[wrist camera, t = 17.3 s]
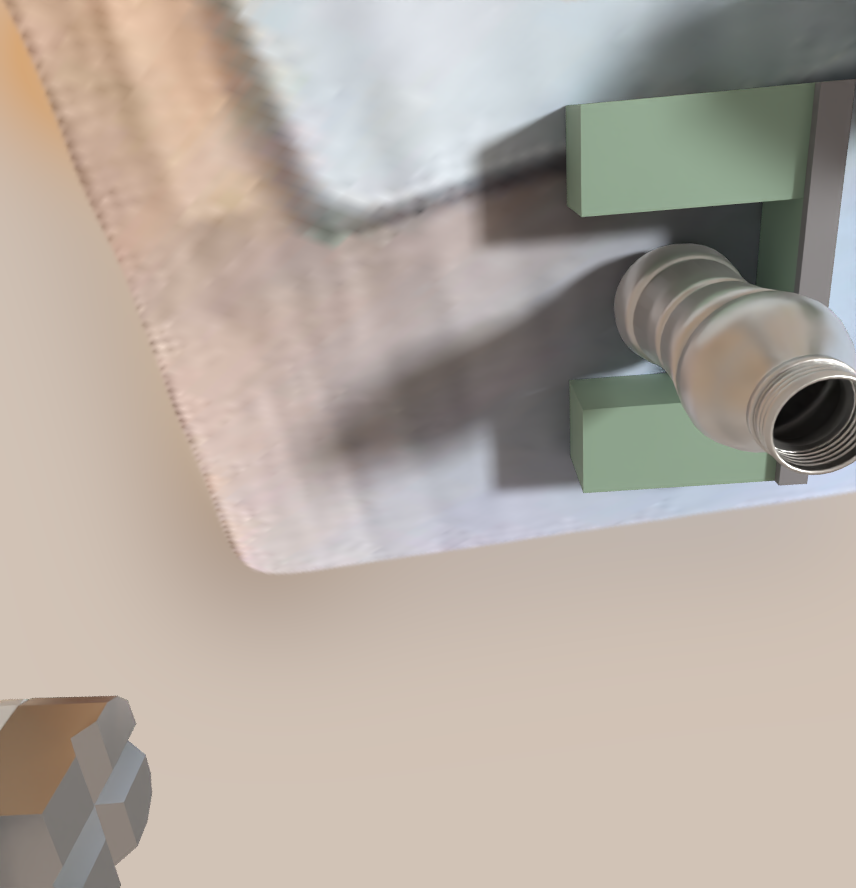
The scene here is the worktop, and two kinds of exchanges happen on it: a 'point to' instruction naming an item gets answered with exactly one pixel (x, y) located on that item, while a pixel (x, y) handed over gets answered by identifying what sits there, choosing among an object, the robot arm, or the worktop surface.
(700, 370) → the plastic bottle
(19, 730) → the robot arm
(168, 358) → the worktop surface
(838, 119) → the green u-shaped bracket
